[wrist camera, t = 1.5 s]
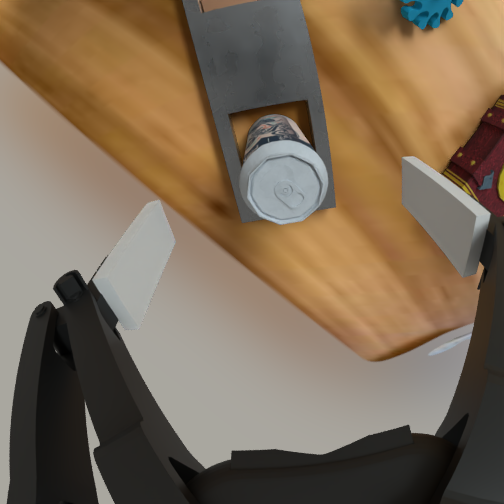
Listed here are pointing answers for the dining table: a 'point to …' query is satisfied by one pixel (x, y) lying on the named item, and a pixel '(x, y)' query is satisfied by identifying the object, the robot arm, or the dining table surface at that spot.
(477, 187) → the decorative book
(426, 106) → the dining table surface
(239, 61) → the rail
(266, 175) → the beer can
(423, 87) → the dining table surface
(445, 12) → the gear
